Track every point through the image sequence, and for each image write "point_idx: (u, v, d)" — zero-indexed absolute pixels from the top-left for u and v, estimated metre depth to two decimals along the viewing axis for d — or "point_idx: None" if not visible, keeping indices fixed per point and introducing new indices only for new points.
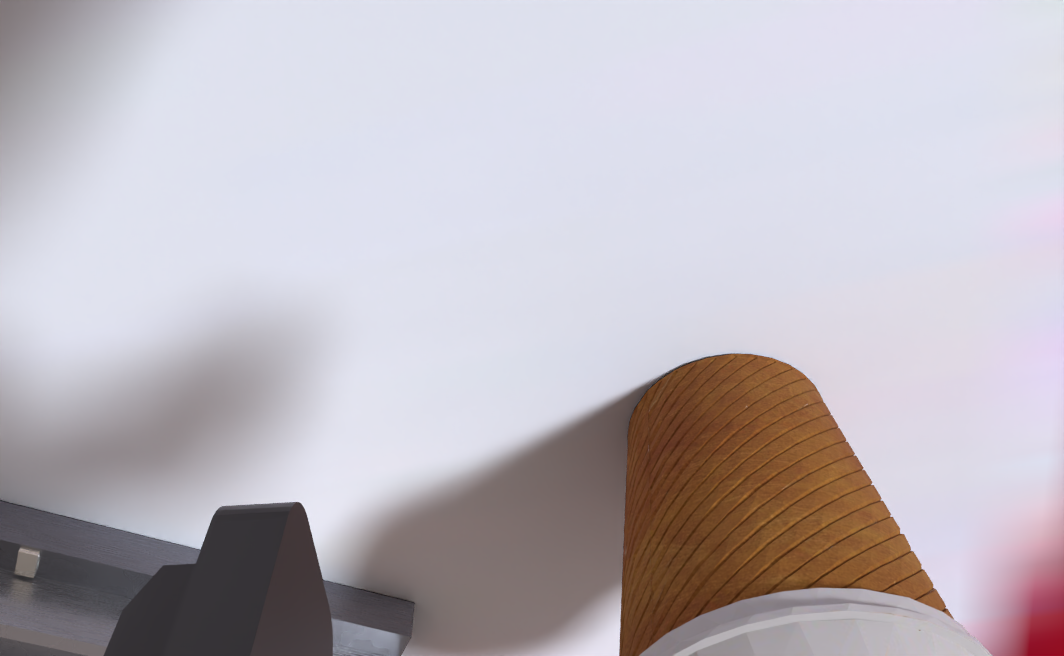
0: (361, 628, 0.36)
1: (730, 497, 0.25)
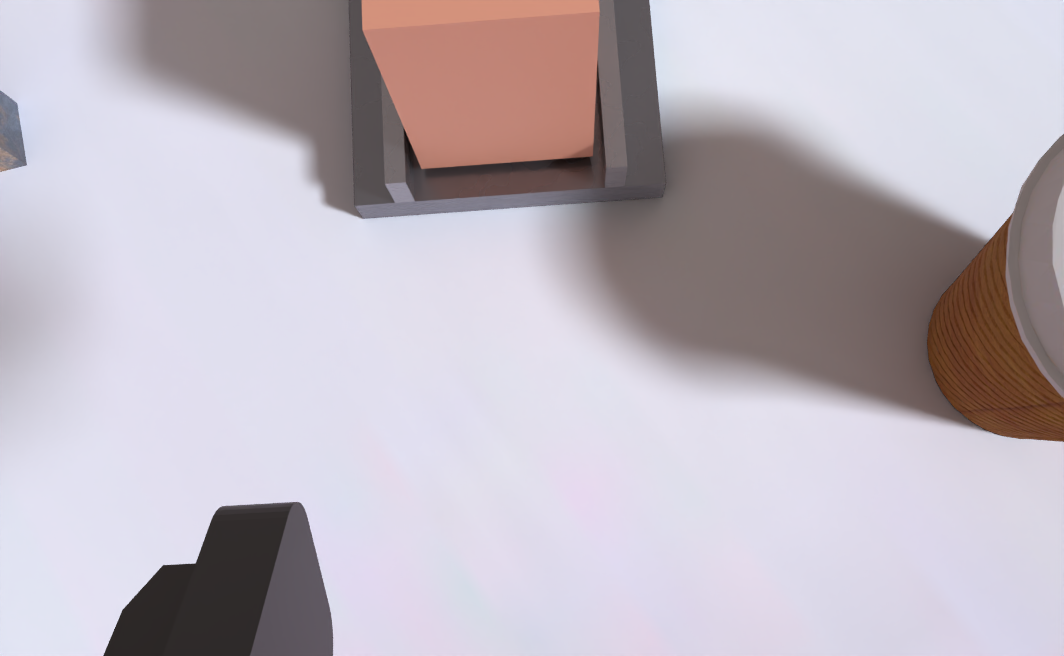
0: (656, 135, 0.36)
1: None
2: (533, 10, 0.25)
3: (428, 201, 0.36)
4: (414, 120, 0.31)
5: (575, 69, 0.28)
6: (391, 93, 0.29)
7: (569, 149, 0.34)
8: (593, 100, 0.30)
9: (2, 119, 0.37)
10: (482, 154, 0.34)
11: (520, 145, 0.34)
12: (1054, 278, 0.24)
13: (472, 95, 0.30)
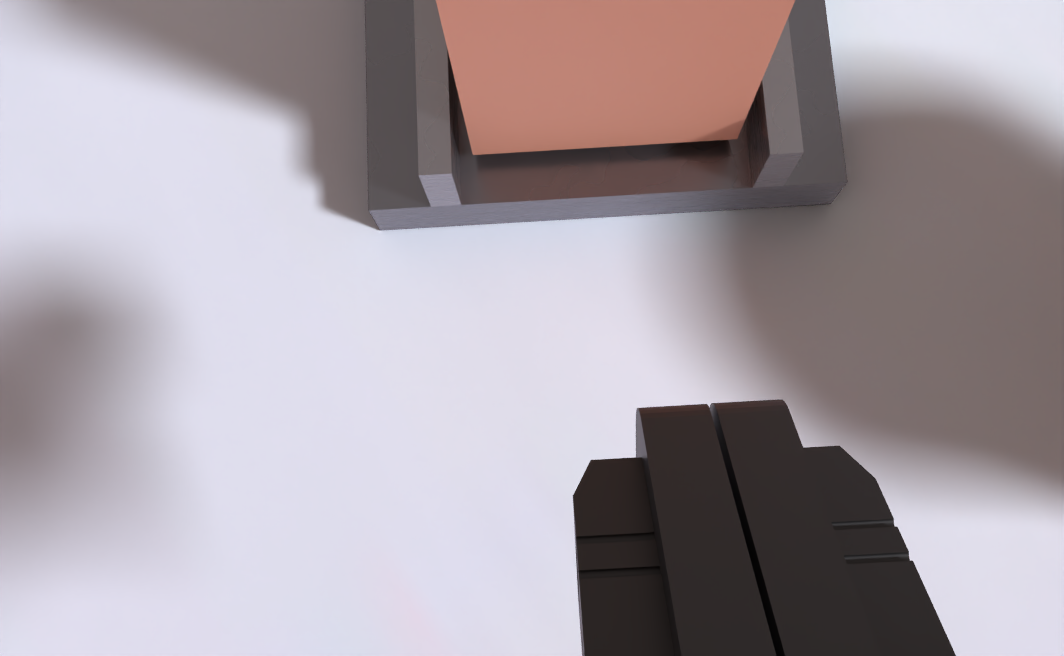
0: (831, 109, 0.23)
1: None
2: None
3: (481, 205, 0.23)
4: (473, 69, 0.19)
5: None
6: (442, 13, 0.17)
7: (707, 125, 0.22)
8: (776, 37, 0.18)
9: None
10: (570, 132, 0.22)
11: (633, 118, 0.21)
12: None
13: (580, 21, 0.17)
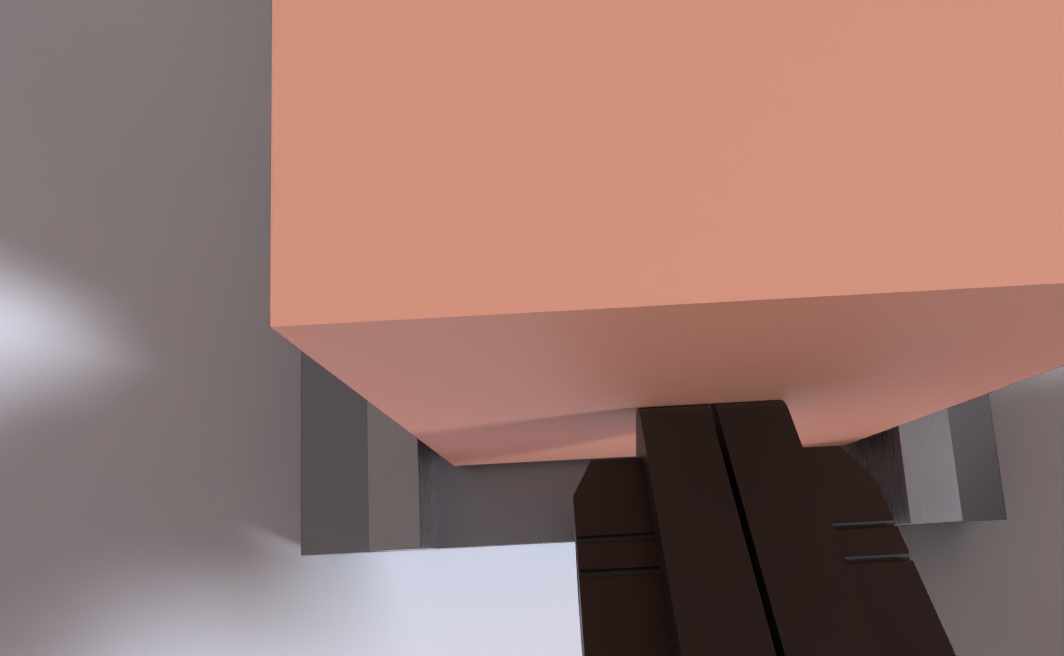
0: (979, 404, 0.16)
1: None
2: (1030, 257, 0.06)
3: None
4: (451, 434, 0.11)
5: (989, 370, 0.09)
6: (390, 413, 0.09)
7: (804, 442, 0.15)
8: (957, 402, 0.11)
9: None
10: (600, 452, 0.15)
11: None
12: None
13: (632, 406, 0.10)
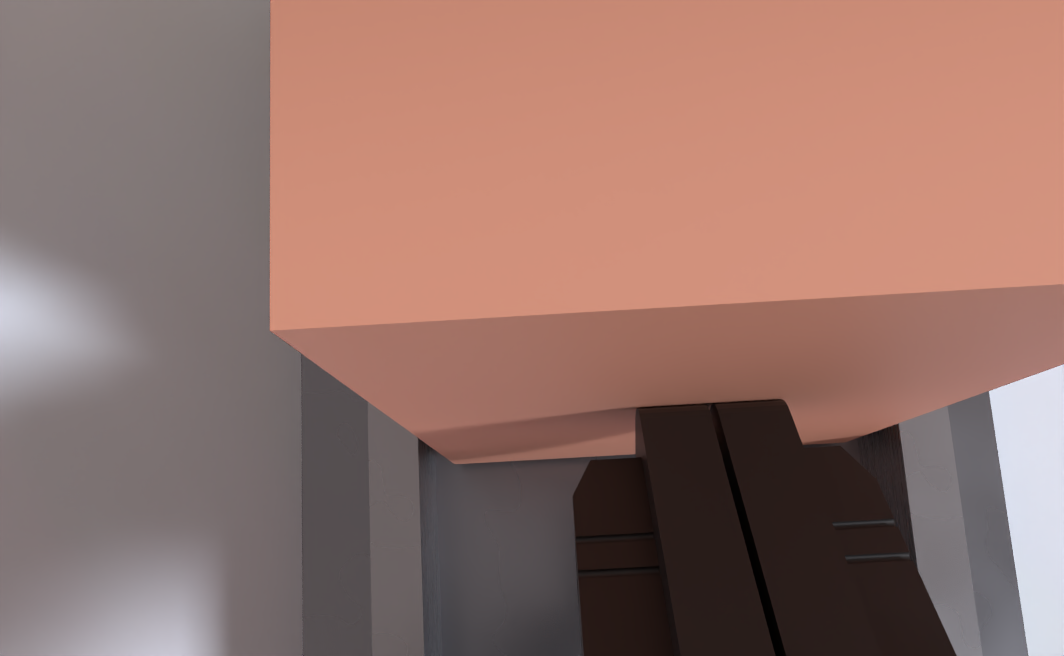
0: None
1: None
2: (1030, 259, 0.06)
3: None
4: (451, 434, 0.11)
5: (991, 369, 0.09)
6: (390, 413, 0.09)
7: (805, 440, 0.15)
8: (957, 400, 0.11)
9: None
10: (601, 450, 0.15)
11: None
12: None
13: (633, 406, 0.10)
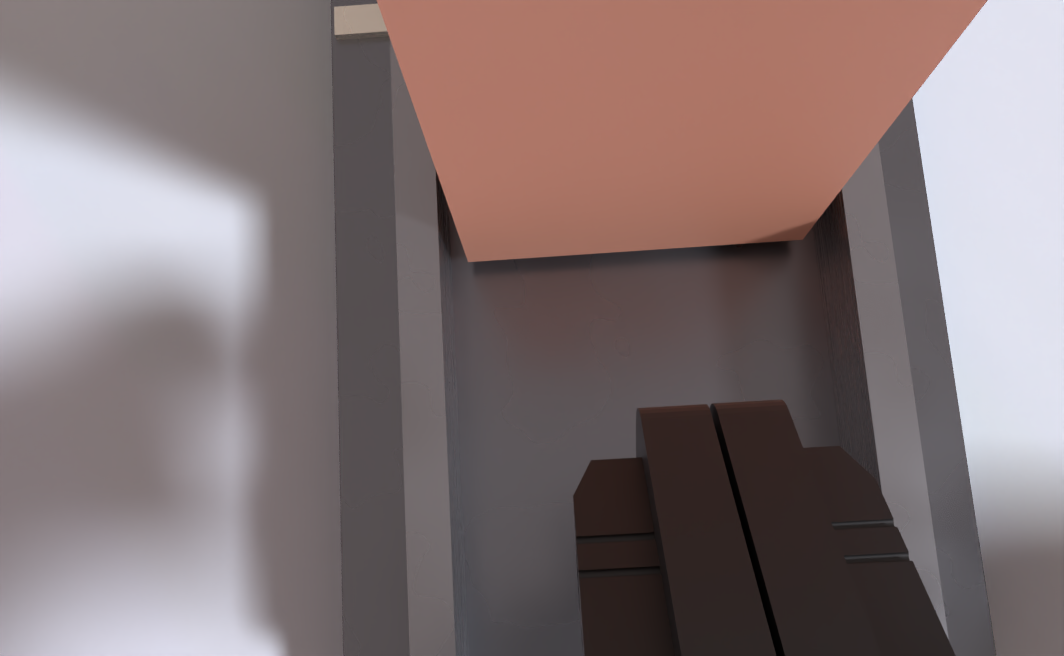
0: (975, 580, 0.17)
1: None
2: None
3: None
4: (468, 178, 0.14)
5: (888, 62, 0.11)
6: (423, 119, 0.12)
7: (766, 228, 0.17)
8: (878, 136, 0.13)
9: None
10: (593, 238, 0.17)
11: (674, 222, 0.17)
12: None
13: (614, 124, 0.13)
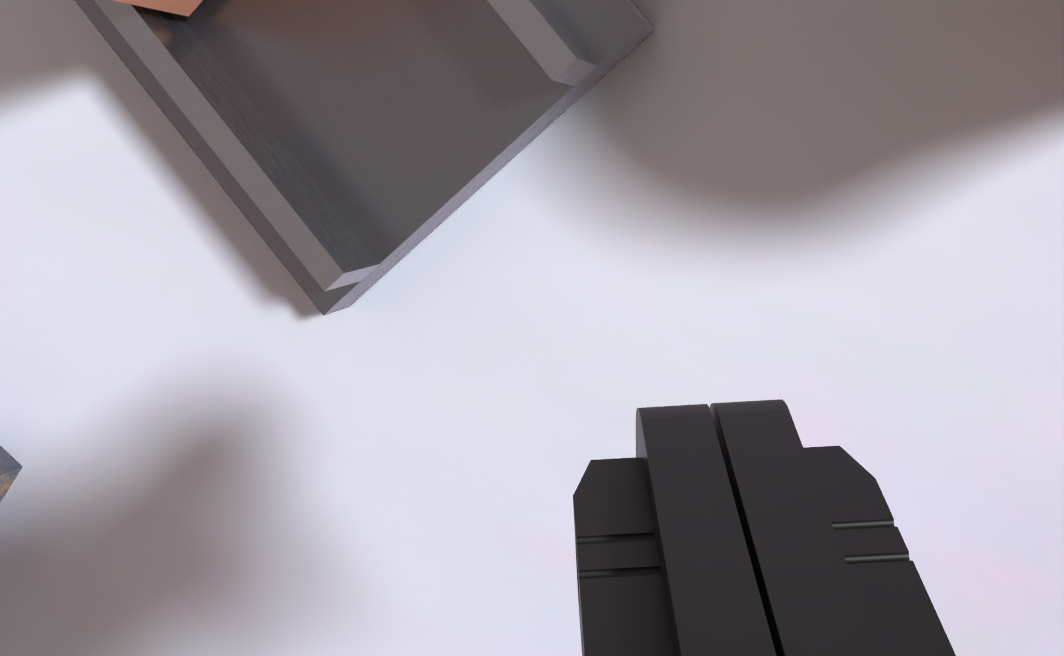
0: None
1: None
2: None
3: (393, 252, 0.26)
4: None
5: None
6: None
7: None
8: None
9: None
10: None
11: None
12: None
13: None
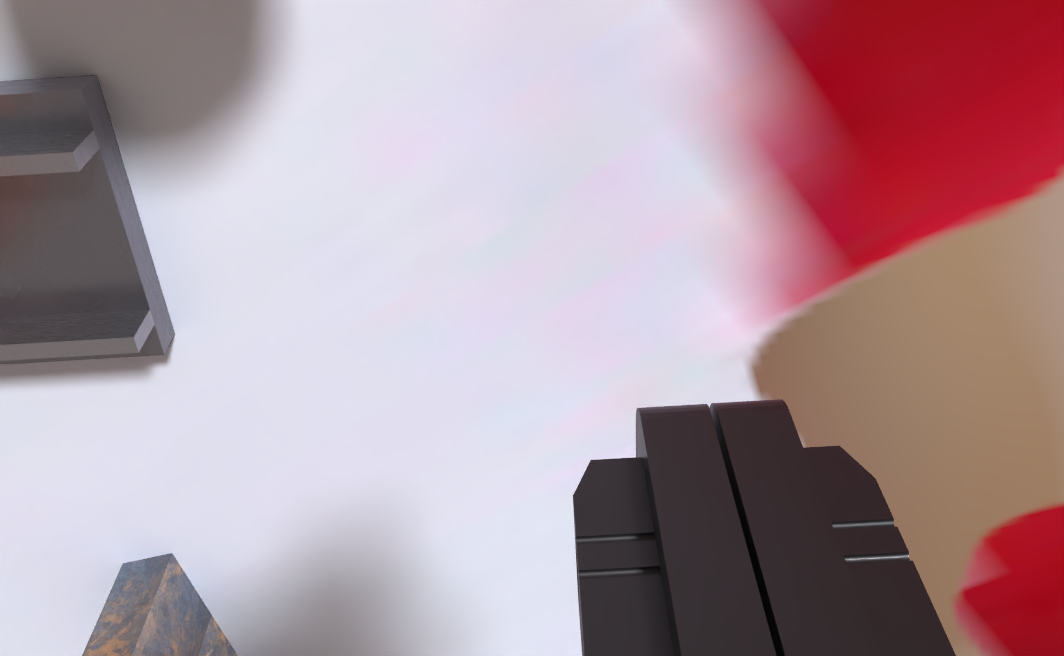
0: (31, 97, 0.35)
1: None
2: None
3: (147, 297, 0.39)
4: None
5: None
6: None
7: None
8: None
9: (138, 579, 0.48)
10: None
11: None
12: None
13: None
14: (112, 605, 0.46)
